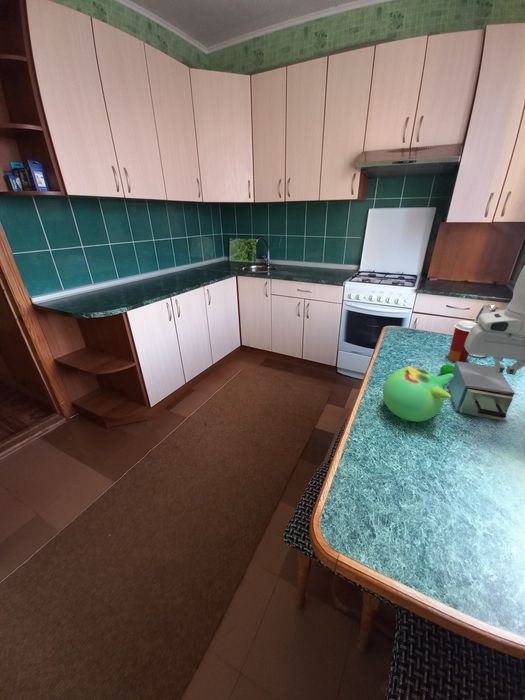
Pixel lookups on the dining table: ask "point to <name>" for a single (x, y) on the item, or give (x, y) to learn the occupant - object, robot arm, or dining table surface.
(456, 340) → the coffee cup
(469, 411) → the drawer
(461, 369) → the grey drawer cabinet
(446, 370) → the polyhedron
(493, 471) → the dining table surface
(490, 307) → the wineglass
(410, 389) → the toy bird
